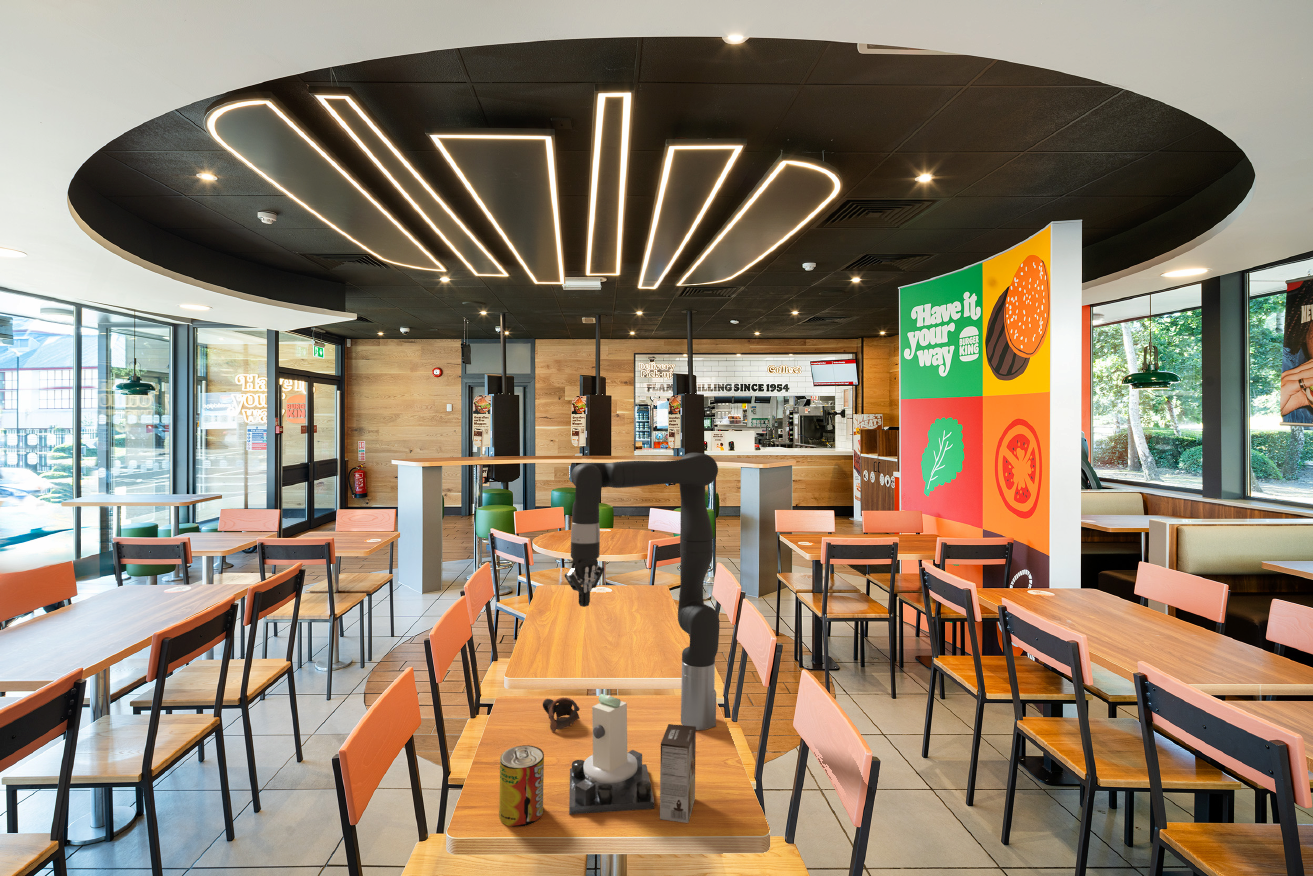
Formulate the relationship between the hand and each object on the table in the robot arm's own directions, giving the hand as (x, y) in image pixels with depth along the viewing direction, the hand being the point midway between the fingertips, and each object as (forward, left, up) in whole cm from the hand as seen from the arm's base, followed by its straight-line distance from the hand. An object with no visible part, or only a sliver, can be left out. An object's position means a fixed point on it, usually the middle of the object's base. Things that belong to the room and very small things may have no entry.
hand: (584, 605), depth 158 cm
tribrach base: (-6, +24, -35) cm, 43 cm away
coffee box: (-20, +32, -35) cm, 52 cm away
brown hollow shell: (+6, -9, -35) cm, 37 cm away
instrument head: (-6, +24, -30) cm, 39 cm away
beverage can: (+13, +30, -35) cm, 48 cm away
